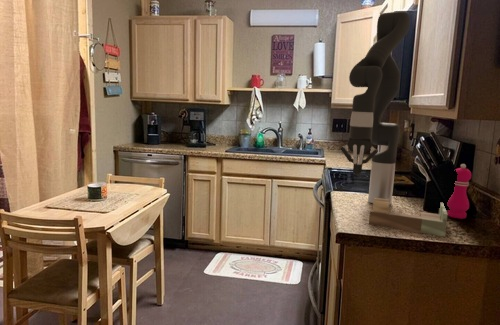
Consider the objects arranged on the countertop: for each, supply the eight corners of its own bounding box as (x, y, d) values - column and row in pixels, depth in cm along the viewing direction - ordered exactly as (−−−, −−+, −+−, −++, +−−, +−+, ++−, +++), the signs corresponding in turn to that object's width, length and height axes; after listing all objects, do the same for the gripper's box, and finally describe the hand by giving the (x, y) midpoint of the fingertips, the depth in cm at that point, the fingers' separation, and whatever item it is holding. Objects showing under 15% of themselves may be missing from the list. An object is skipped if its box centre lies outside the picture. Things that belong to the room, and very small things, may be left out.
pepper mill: (443, 215, 138) (449, 163, 135) (449, 212, 143) (455, 161, 140) (464, 220, 133) (471, 166, 130) (470, 216, 138) (477, 164, 135)
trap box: (373, 211, 139) (375, 193, 138) (441, 221, 130) (443, 202, 129) (368, 224, 124) (370, 204, 123) (445, 236, 115) (447, 215, 114)
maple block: (373, 211, 131) (374, 197, 130) (388, 213, 129) (389, 199, 128) (372, 214, 126) (373, 200, 126) (387, 217, 124) (388, 202, 124)
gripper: (382, 126, 127) (377, 175, 130) (343, 123, 132) (339, 170, 135) (380, 126, 120) (375, 178, 123) (340, 124, 126) (336, 174, 128)
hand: (356, 174), depth 129 cm, fingers closed
